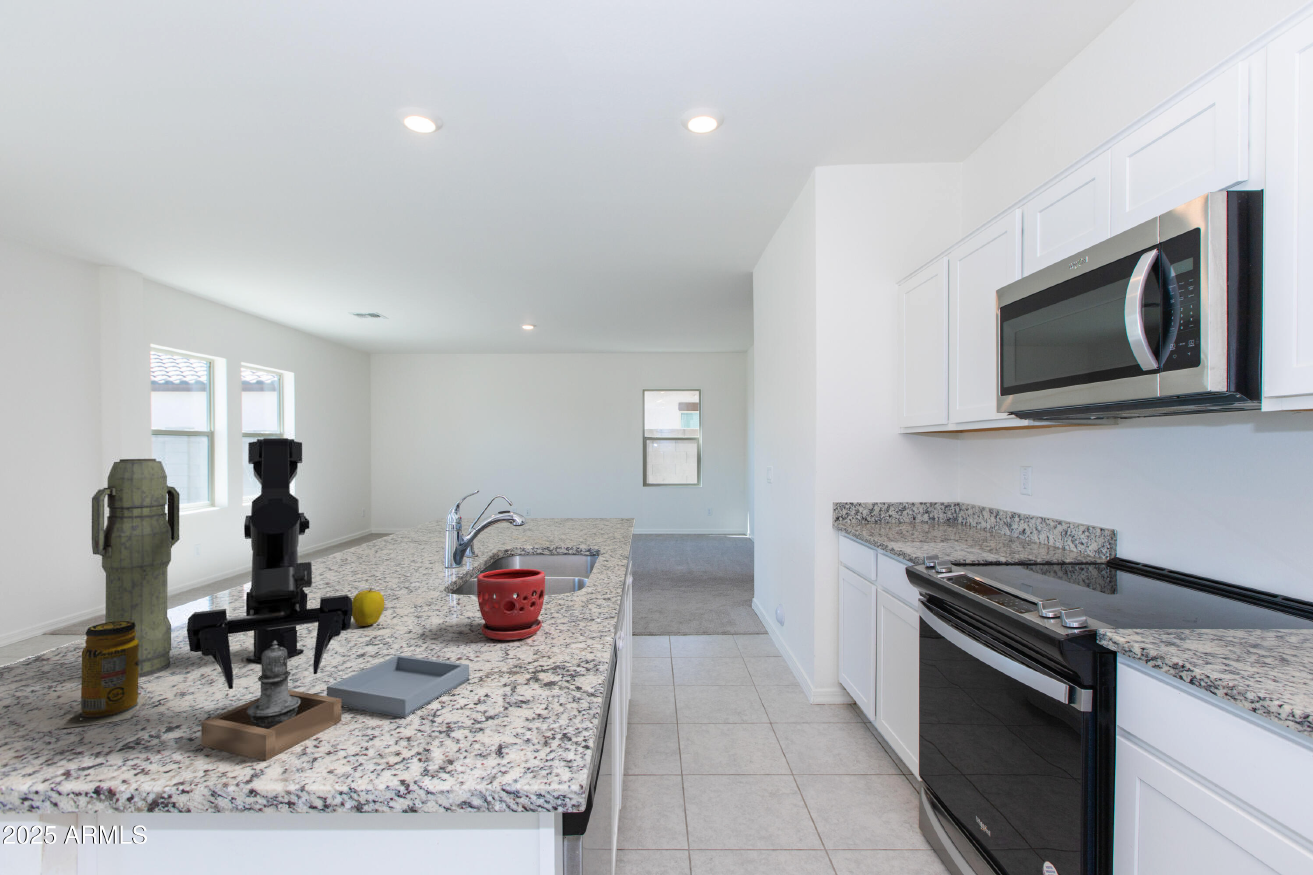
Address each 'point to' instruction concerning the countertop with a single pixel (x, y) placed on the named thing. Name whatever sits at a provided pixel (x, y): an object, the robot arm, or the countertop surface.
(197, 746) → the countertop surface
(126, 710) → the condiment
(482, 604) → the plant pot
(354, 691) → the tray
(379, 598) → the apple
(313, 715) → the socket block
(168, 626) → the thermos
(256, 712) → the salt shaker
